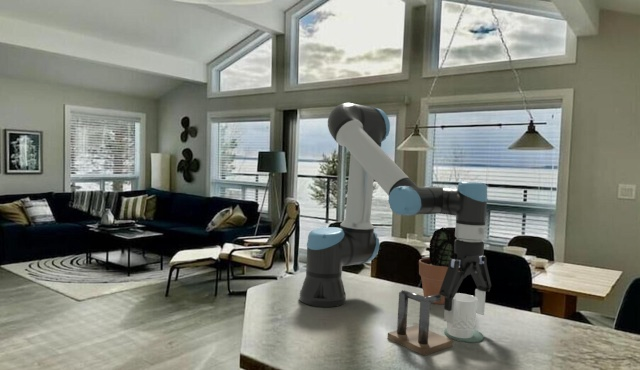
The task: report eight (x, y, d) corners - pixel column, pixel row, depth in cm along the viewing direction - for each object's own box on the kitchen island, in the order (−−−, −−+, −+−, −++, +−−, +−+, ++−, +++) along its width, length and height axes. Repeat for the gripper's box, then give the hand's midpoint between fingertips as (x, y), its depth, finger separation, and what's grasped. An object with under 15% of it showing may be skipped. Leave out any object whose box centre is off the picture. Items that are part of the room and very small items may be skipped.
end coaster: (436, 332, 119) (436, 330, 119) (458, 325, 125) (458, 323, 125) (468, 345, 111) (469, 343, 111) (490, 337, 117) (490, 335, 117)
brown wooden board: (387, 338, 113) (387, 332, 113) (415, 330, 120) (415, 325, 120) (424, 355, 104) (424, 349, 104) (452, 346, 110) (452, 340, 110)
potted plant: (408, 298, 150) (413, 226, 149) (431, 292, 159) (435, 223, 158) (444, 309, 140) (448, 231, 139) (466, 302, 149) (470, 229, 148)
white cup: (477, 341, 112) (479, 303, 112) (445, 337, 114) (448, 299, 114) (472, 330, 120) (475, 294, 120) (443, 327, 122) (445, 291, 121)
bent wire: (394, 332, 113) (397, 289, 113) (412, 327, 118) (415, 286, 117) (423, 345, 106) (426, 299, 106) (441, 339, 110) (444, 295, 110)
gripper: (453, 245, 106) (447, 331, 107) (507, 239, 122) (502, 314, 123) (428, 240, 112) (423, 321, 113) (483, 234, 128) (478, 306, 128)
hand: (464, 317), depth 118 cm, fingers open, 13 cm apart
